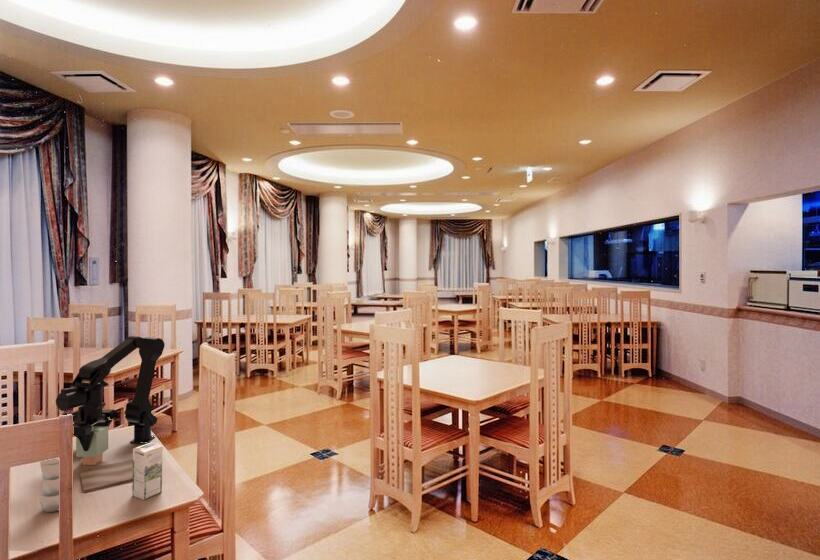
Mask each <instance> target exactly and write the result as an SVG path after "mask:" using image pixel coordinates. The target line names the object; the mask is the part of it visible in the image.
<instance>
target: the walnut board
mask: <svg viewBox="0 0 820 560" xmlns="http://www.w3.org/2000/svg"><path fill="white" fill-rule="evenodd" d="M79 473H80V474H79V475H80V481H81V485H82V491H83V492H82V493H88V492H92V491H97V490H101V489H105V488H110V487H113V486H118V485H121V484H126V483H130V482H131V483H132V482H133V458H131V459H127V460H122V461H117V462H113V463H108V464H104V465H98V466H93V467H90V468H84V469H81V470H79Z"/></svg>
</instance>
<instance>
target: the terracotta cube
mask: <svg viewBox="0 0 820 560" xmlns="http://www.w3.org/2000/svg"><path fill="white" fill-rule="evenodd" d="M103 459H104V458H103V453H101V454H100V455H99V456H97V457H82V465H85V466H87V465H89V466H90V465H92V466H93V465H95V466H96V465H97V464H99V463H100V462H101V461H103Z"/></svg>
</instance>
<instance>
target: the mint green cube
mask: <svg viewBox="0 0 820 560" xmlns="http://www.w3.org/2000/svg"><path fill="white" fill-rule="evenodd" d="M91 431H94V434H93V437H92V440H91V444H90V447H89V450H88V451H84V450H83V447H82V445H81V443H80V441H79V439H78V438H77V437H76V436H75V449H76V450H75V451H76V452H75V453H76V454H75V457H76V458H83V457H97V456H99V455H100V454H101V453H102V454H103V453H104V452H106V451H107V450H108V449H109V427H108V426H92V430H91Z"/></svg>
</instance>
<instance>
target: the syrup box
mask: <svg viewBox="0 0 820 560" xmlns="http://www.w3.org/2000/svg"><path fill="white" fill-rule="evenodd" d="M163 448H164V447H163V446H162V445H160V444H158V443H156V442H153V441H152V442H151V441H149V442H148V443H144V444H143V445H139V446H137V447H134V448H132V459H133V481H132V482H131V483H132V491H131V492H132V493H131V495H132V496H133V497H135V498H138V499H140V500H143V501H145V500H147V499H150V498H152V497H154V496H156V495H158V494H160V493H162V492H163V491H162V490H163V450H164V449H163Z"/></svg>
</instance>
